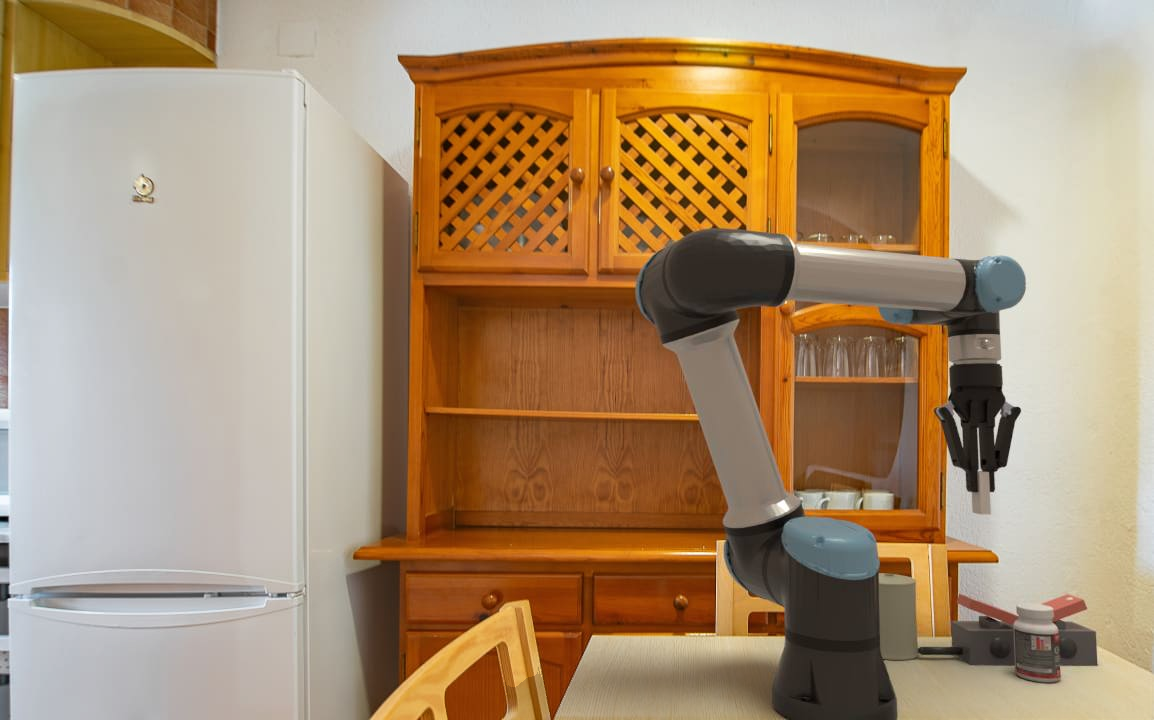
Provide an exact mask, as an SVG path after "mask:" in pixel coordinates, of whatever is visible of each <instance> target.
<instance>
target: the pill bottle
mask: <svg viewBox="0 0 1154 720" xmlns="http://www.w3.org/2000/svg"><path fill="white" fill-rule="evenodd" d="M1015 610H1016V614H1017V616H1019V619H1017V620H1016V621H1015V622H1014V624H1013V635H1014V659H1015V665H1014V672H1015V674H1016V675H1017V676H1018V677H1020V678H1022V679H1025V680H1028V681H1031V682H1036V683H1048V684H1050V683H1056V682H1059V681H1060V680H1061V677H1062V676H1061V675H1062V674H1061V665H1060V652H1059V632H1058V628H1057V626H1056V625H1055V624H1054V623H1052V618H1053V617H1054V611H1053V608H1052V607H1050V606H1047V605H1042V603H1033V602H1031V603H1030V602H1027V603H1026V602H1025V603H1024V602H1023V603H1017V604H1016V609H1015Z"/></svg>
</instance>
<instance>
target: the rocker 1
mask: <svg viewBox="0 0 1154 720" xmlns="http://www.w3.org/2000/svg"><path fill="white" fill-rule="evenodd" d="M956 604H957V605H960V606H962V607H965V608H966V609H969V610H972V611H974V612H976V613H979V614H981V615H983V616H989V617H991V618H993V619H995V620H997V621H1003V622H1006V623H1009V624H1011V625H1013V624H1014V622H1015V621H1016V620H1017V619H1019V615H1018V614H1017V615H1016V614H1015V613H1013V612H1010V611H1008V610H1006V609H1002V608H999V607H997V606H994V605H991V604H988V603H986V602H983V601H980V600H977V599H975V598H972V597H971V596H968V595H964V594H962V593H959V594H958V596H957V600H956Z"/></svg>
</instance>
